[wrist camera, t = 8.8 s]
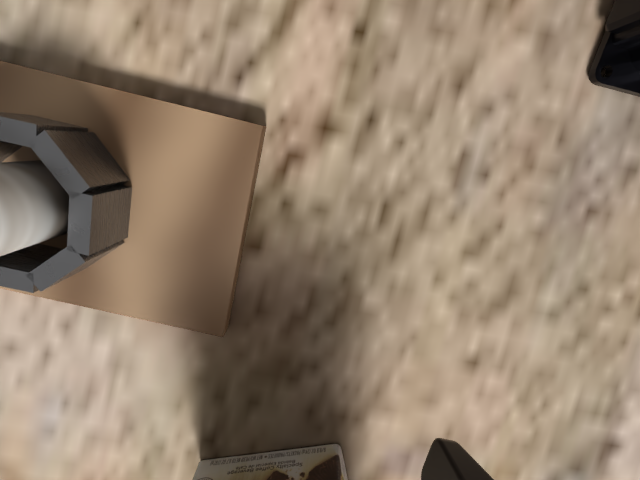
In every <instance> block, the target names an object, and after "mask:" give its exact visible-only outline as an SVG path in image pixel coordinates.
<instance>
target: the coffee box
mask: <svg viewBox="0 0 640 480" xmlns="http://www.w3.org/2000/svg"><path fill="white" fill-rule="evenodd" d="M193 480H348V479H347V473H346V468H345V463H344V459H343V454H342V450H341V447H340V445H338V444H330V445H322V446H315V447H307V448H299V449H290V450H282V451H274V452H266V453H258V454H250V455H242V456H233V457H225V458H217V459H208V460H202V461H200V462H199V465H198V467H197V470H196V472H195V475H194V477H193Z"/></svg>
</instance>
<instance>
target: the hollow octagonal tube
mask: <svg viewBox="0 0 640 480" xmlns="http://www.w3.org/2000/svg"><path fill="white" fill-rule="evenodd" d="M22 146H26V147H30V148H32V150H33V151H34V152H35V153H36V155H37V156H38V157H39V158H40V160H41V161H42V162H43V163H44V164H45V166H46V167H47V168H48V169H49V171H50V172H51V173H52V174H53V176H54V177H55V178H56V179H57V181H58V182H59V183H60V184H61V186H62V187H63V188H64V189H65V191H66V192H67V193H68V194H69V214H68V237H67V247H66V248H64V249H62V248H57V247H53V246H48V245H44V244H39V243H37V244H34V245H32V246H29V247H26V248H23V249H20V250H17V251H14V252H11V253H8V254H5V255H2V256H0V286H2V287H7V288H12V289H16V290H21V291H26V292H31V293H34V292H36V291H38V290H39V291H40V292H41V291H43V290H45V289H47V288H49V287H51V286H53V285H55V284H57V283H59V282H61V281H63V280H65V279H67V278H69V277H70V276H72V275H74V274H76V273H78V272H80V271H82V270H84V269H86V268H88V267H89V266H91V265H92V264H94V263H95V262H97V261H98V260H100V259H101V258H103V257H104V256H106V255H107V254H109V253H110V252H112V251H113V250H115V249H116V248H118V247H119V246H121V245H122V244H124V243H125V242H124V241H123V239H126V238H128V231H129V220H130V208H131V197H132V187H130V186H126V185H124V184H125V183H127V182H128V181H130V179H129V178H128V176H127V175H126V174H125V172H124V171H123V170H122V168H121V167H120V166H119V164H118V163H117V162H116V160H115V159H114V158H113V156H112V155H111V154H110V152H109V151H108V150H107V148H106V147H105V146H104V144H103V143H102V142H101V140H100V139H99V138H98V136H97V135H96V134H95V133H94V132H88V128H85V127H81V126H77V125H72V124H68V123H64V122H59V121H55V120H51V119H47V118H42V117H38V116H34V115H26V114H16V113H6V112H0V162H3V161H4V160H5V159H7V158H8V157H9V156H10V155H12V154H13V153H14V152H16V151H17V150H18V149H20V148H21V147H22Z"/></svg>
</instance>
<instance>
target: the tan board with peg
mask: <svg viewBox="0 0 640 480" xmlns="http://www.w3.org/2000/svg"><path fill="white" fill-rule="evenodd" d="M0 112H6V113H16V114H26V115H34V116H38V117H42V118H47V119H51V120H55V121H59V122H64V123H68V124H72V125H77V126H81V127H85V128H88V132H94V133H95V134H96V135H97V136H98V138H99V139H100V140H101V142H102V143H103V144H104V146H105V147H106V148H107V150H108V151H109V152H110V154H111V155H112V156H113V158H114V159H115V160H116V162H117V163H118V164H119V166H120V167H121V168H122V170H123V171H124V172H125V174H126V175H127V176H128V178H129V179H130V181H128V182H127V183H125V184H124V185H126V186H130V187H132V197H131V208H130V220H129V231H128V238H126V239H123V241H124V242H125V243H124V244H122V245H121V246H119V247H118V248H116V249H115V250H113V251H112V252H110V253H109V254H107V255H106V256H104V257H103V258H101V259H100V260H98V261H97V262H95V263H94V264H92V265H91V266H89V267H88V268H86V269H84V270H82V271H80V272H78V273H76V274H74V275H72V276H70V277H69V278H67V279H65V280H63V281H61V282H59V283H57V284H55V285H53V286H51V287H49V288H47V289H45V290H43V291H41V292H40V291H39V290H38V291H36V292H34V293H31V292H26V291H21V290H16V289H12V288H7V287H2V286H0V288H2V289H6V290H11V291H15V292H20V293H24V294H29V295H33V296H38V297H43V298H47V299H52V300H56V301H61V302H65V303H70V304H74V305H79V306H84V307H88V308H93V309H97V310H102V311H106V312H111V313H115V314H120V315H125V316H129V317H134V318H138V319H143V320H147V321H152V322H156V323H161V324H165V325H170V326H175V327H179V328H184V329H188V330H193V331H197V332H202V333H206V334H211V335H216V336H220V337H223V336H224V334H225V332H226V331H227V329H228V325H229V320H230V314H231V309H232V304H233V299H234V293H235V288H236V283H237V278H238V272H239V267H240V262H241V257H242V251H243V246H244V241H245V236H246V230H247V225H248V220H249V214H250V209H251V204H252V199H253V193H254V188H255V183H256V178H257V172H258V167H259V162H260V157H261V151H262V146H263V141H264V136H265V130H266V127H265V126H262V125H258V124H254V123H250V122H246V121H242V120H238V119H234V118H230V117H226V116H221V115H217V114H213V113H209V112H205V111H201V110H197V109H193V108H189V107H185V106H181V105H177V104H173V103H169V102H165V101H161V100H157V99H153V98H149V97H145V96H141V95H137V94H133V93H129V92H125V91H121V90H117V89H113V88H109V87H104V86H100V85H96V84H92V83H88V82H84V81H80V80H76V79H72V78H68V77H64V76H60V75H56V74H52V73H48V72H44V71H40V70H36V69H32V68H28V67H24V66H20V65H16V64H12V63H8V62H4V61H0ZM68 214H69V194H68V193H67V192H66V191H65V189H64V188H63V187H62V186H61V184H60V183H59V182H58V181H57V179H56V178H55V177H54V176H53V174H52V173H51V172H50V171H49V169H48V168H47V167H46V166H45V164H44V163H43V162H42V161H41V160H40V158H39V157H38V156H37V155H36V153H35V152H34V151H33V150H32V148H30V147H26V146H22V147H21V148H20V149H18V150H17V151H16V152H14V153H13V154H12V155H10V156H9V157H8V158H7V159H5V160H4V161H3V162H0V256H2V255H5V254H8V253H11V252H14V251H17V250H20V249H23V248H26V247H29V246H32V245H34V244H37V243H39V244H44V245H48V246H53V247H57V248H62V249H64V248H66V247H67V237H68Z"/></svg>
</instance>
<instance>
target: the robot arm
mask: <svg viewBox="0 0 640 480" xmlns="http://www.w3.org/2000/svg"><path fill="white" fill-rule="evenodd" d="M602 68H605V70H606V74H605V76H604V77H602V75H601V70H602ZM589 80H590V81H591V83H593V84H595V85H598V86H602V87H605V88H609V89H613V90H617V91H620V92H624V93H628V94H632V95H636V96H639V97H640V0H615V2H614V4H613V7H612V9H611V12H610V14H609V17H608V19H607V22H606V31H605V33H604V36H603V38H602V41H601V43H600V46H599V48H598V51H597V53H596V56H595V58H594V61H593V63H592V66H591V68H590V71H589ZM421 480H494V479H493V478H492V477H491V476H490V475H489V474H488V473H487V472H486V471H485V470H484V469H483V468H482V467H481V466H480V465H479V464H478V463H477V462H476V461H475V460H474V459H473V458H472V457H471V456H470V455H469V454H468V453H467V452H466V451H465V450H464V449H463V448H462V447H461V446H460V445H459V444H458V443H457V442H455V441H452V440H447V439H442V438H436V439H435V440H434V441H433V443H432V445H431V448H430V450H429V453H428V456H427V458H426V461H425V463H424V466H423V469H422V474H421Z"/></svg>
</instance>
